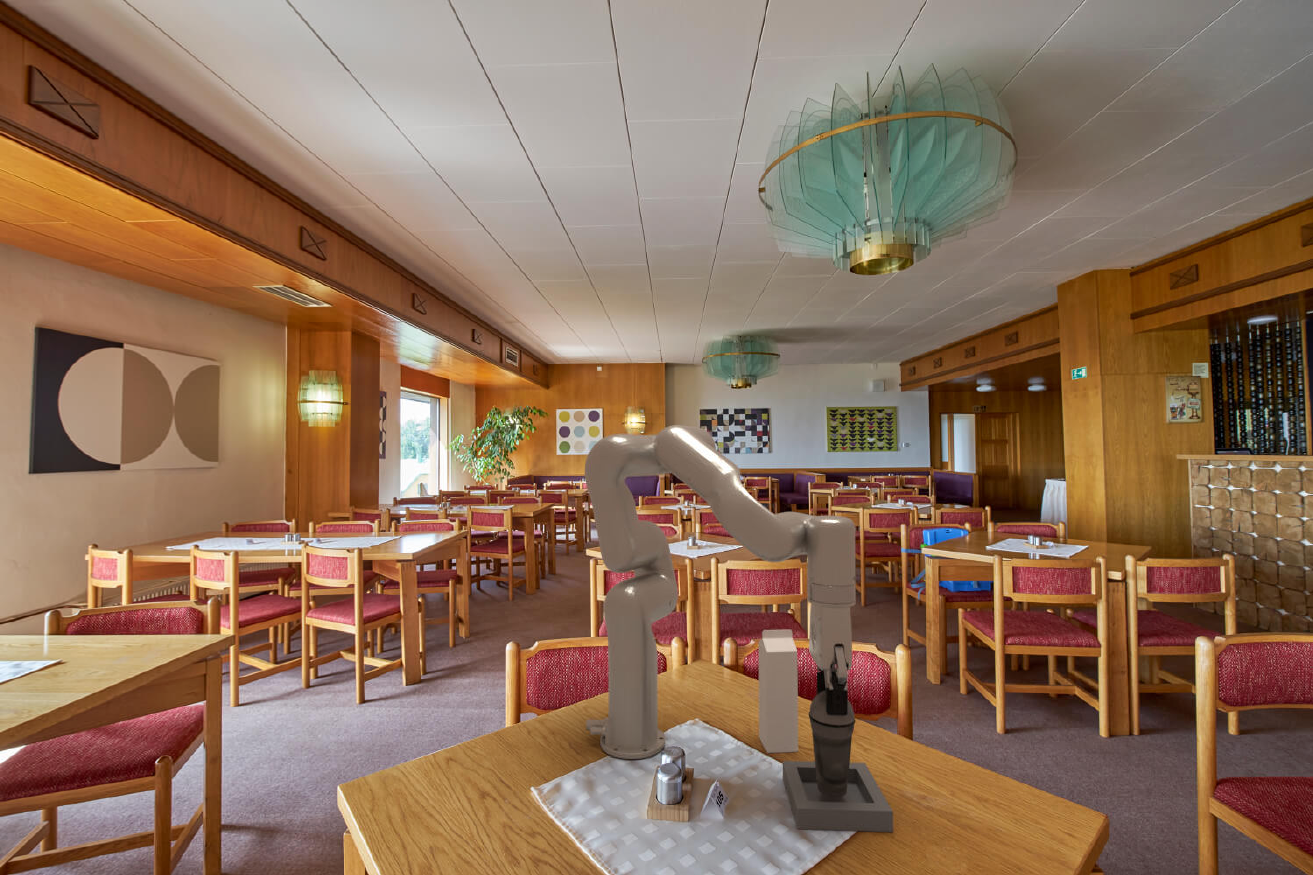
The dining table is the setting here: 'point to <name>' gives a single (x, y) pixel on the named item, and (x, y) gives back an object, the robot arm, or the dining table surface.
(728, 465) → the robot arm
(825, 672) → the beverage cup
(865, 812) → the tray
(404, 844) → the dining table surface
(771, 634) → the milk
